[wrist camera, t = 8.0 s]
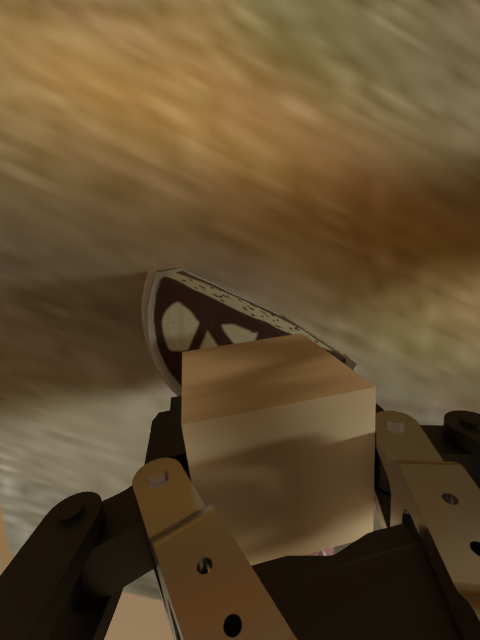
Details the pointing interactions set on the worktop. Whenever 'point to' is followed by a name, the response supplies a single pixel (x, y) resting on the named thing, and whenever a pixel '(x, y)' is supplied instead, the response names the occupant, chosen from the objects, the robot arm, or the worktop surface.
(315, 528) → the birch cube
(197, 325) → the food container
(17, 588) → the robot arm
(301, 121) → the worktop surface
